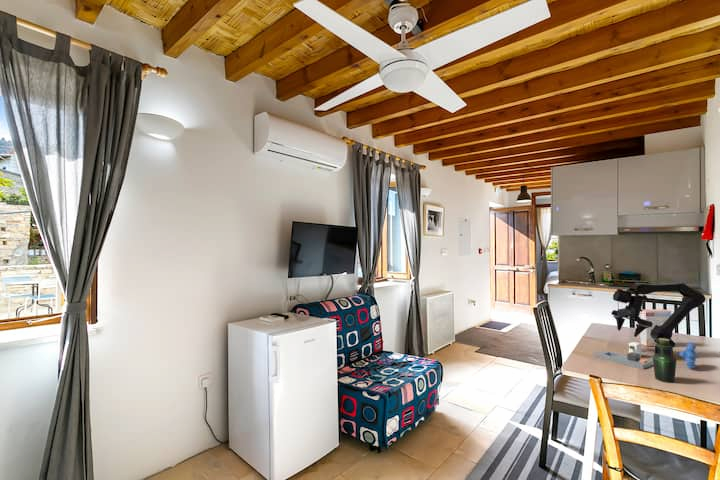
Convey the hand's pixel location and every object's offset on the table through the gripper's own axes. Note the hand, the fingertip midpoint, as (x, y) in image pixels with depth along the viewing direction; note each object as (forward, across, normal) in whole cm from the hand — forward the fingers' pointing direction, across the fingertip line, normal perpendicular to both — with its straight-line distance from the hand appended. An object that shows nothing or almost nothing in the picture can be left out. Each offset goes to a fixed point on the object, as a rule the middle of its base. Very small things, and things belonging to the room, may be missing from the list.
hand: (626, 333), depth 193 cm
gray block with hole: (+13, +8, -9) cm, 18 cm away
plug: (+10, +5, +4) cm, 12 cm away
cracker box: (+5, -6, +33) cm, 34 cm away
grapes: (+6, +24, +12) cm, 27 cm away
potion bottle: (+12, +33, -15) cm, 38 cm away
